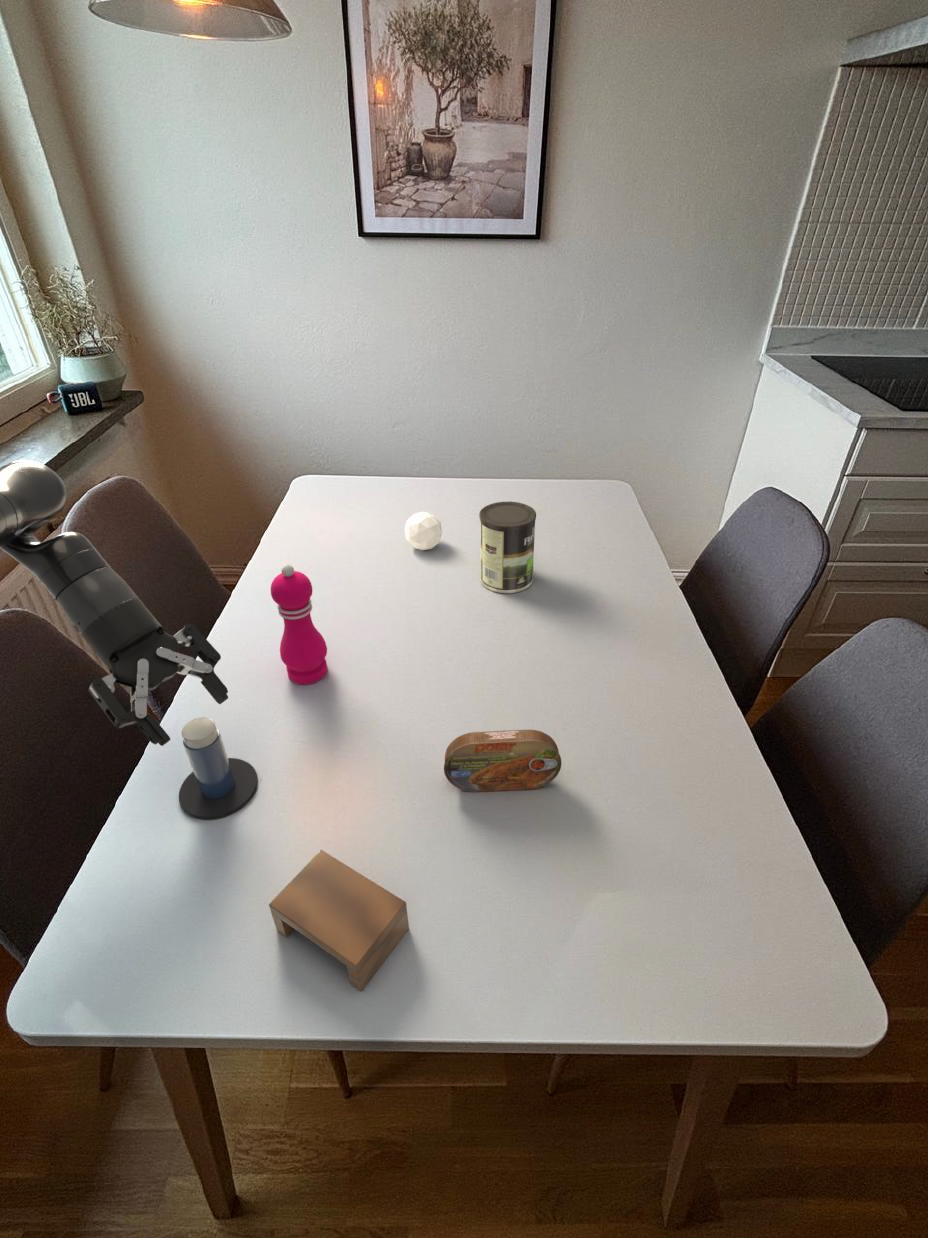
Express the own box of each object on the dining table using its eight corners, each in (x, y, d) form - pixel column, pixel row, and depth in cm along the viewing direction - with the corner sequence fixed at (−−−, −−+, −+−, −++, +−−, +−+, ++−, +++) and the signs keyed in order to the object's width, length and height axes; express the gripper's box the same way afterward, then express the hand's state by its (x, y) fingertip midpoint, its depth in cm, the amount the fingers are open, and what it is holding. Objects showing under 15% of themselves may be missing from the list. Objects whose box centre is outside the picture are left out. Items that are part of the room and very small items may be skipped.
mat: (214, 832, 85) (213, 829, 84) (163, 798, 89) (162, 795, 89) (273, 780, 91) (273, 777, 91) (223, 750, 96) (222, 747, 96)
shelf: (361, 992, 68) (356, 966, 66) (276, 930, 74) (268, 904, 71) (409, 928, 74) (406, 902, 71) (327, 875, 79) (321, 849, 76)
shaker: (215, 804, 87) (195, 746, 81) (193, 790, 89) (172, 732, 83) (242, 782, 90) (224, 724, 84) (219, 768, 92) (201, 711, 86)
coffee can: (537, 568, 134) (540, 503, 126) (527, 597, 126) (530, 529, 118) (486, 562, 137) (486, 498, 129) (473, 590, 129) (473, 523, 120)
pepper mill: (316, 652, 114) (296, 547, 102) (339, 673, 109) (321, 566, 98) (277, 671, 110) (252, 564, 98) (299, 693, 106) (275, 584, 94)
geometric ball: (415, 557, 145) (398, 523, 144) (449, 540, 144) (432, 505, 144) (414, 557, 137) (395, 521, 136) (449, 539, 137) (431, 503, 136)
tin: (445, 793, 89) (442, 748, 84) (444, 775, 92) (442, 729, 87) (559, 789, 89) (564, 743, 84) (556, 770, 92) (560, 725, 87)
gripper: (56, 634, 73) (153, 751, 75) (168, 575, 83) (252, 679, 84) (47, 656, 79) (138, 765, 80) (153, 598, 88) (232, 696, 90)
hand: (196, 721), depth 82 cm, fingers open, 8 cm apart
